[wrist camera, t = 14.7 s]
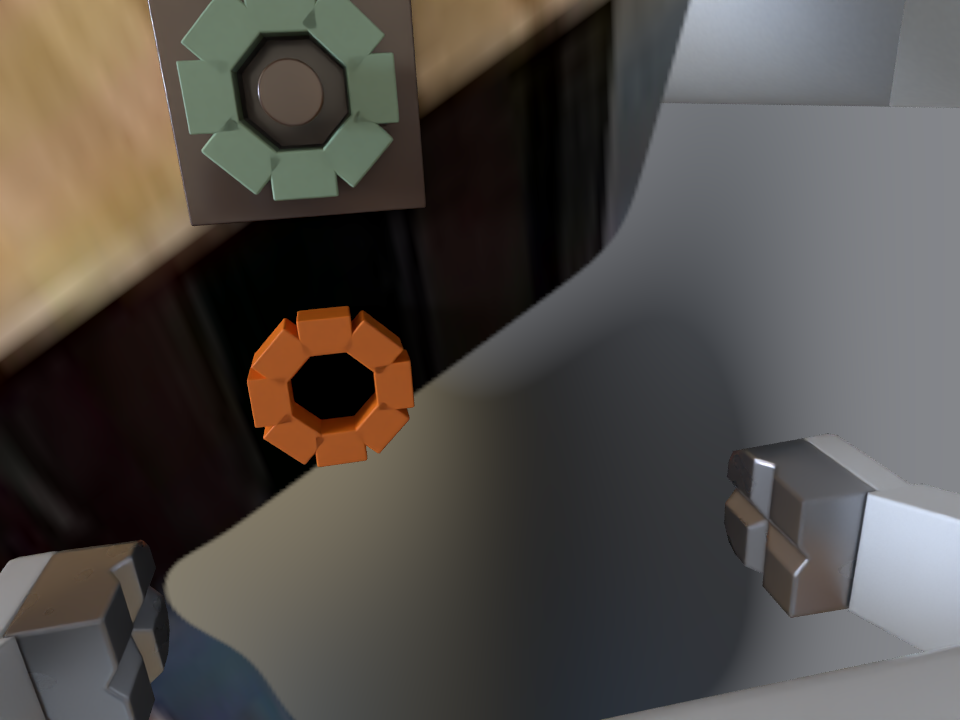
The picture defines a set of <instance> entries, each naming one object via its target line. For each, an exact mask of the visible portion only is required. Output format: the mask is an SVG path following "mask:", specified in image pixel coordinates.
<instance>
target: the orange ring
mask: <svg viewBox="0 0 960 720" xmlns="http://www.w3.org/2000/svg"><path fill="white" fill-rule="evenodd" d="M296 324H297V325H295V324H294V323H292V322H291V321H290V320H288V319H287V318H284V319H283V320H282V322H281V323H280V324H279V325H278V327H277V328H276V329H275V330H274V331H273V333H272V334H271V335H270V336H269V337H268V339H267V340H266V341H265V342H264V343H263V345H262V346H261V347H260V348H259V349H258V351H257V352H256V353H255V354H254V358H253V362H252V366H251V368H250V372H249V376H248V379H247V384H248V389H249V395H250V400H251V406H252V412H253V417H254V423H255V427H256V428H258V427H265V431H264V437H263V438H264V439H265V440H267V441H268V442H270V443H271V444H273V445H274V446H276V447H278V448H279V449H281V450H282V451H284V452H285V453H287V454H289V455H290V456H292V457H293V458H295V459H296V460H298V461H300V462H301V463H303V464H306V463H307V462H308V460H309V459H310V458H311V457H312V456H313V455H314V454H315V453H316V460H317V466H318V467H324V466H330V465H338V464H344V463H352V462H359V461H365V460H367V451H366V446H368V447H369V448H371V449H372V450H374V451H375V452H377V453H380V452H381V451H382V450H383V449H384V448H385V447H386V445H387V444H388V443H389V442H390V441H391V440H392V439H393V437H394V436H395V435H396V434H397V433H398V432H399V431H400V430H401V428H402V427H403V426H404V425H405V424H406V423H407V422H408V420H409V414H408V411H407V408H412V407H414V395H413V383H412V372H411V362H410V359H409V356H408V353H407V350H403V347H402V344H401V341H400V338H399V337H397V336H396V335H395V334H394V333H392V332H391V331H390V330H388V329H387V328H386V327H384V326H383V325H382V324H380V323H379V322H378V321H377V320H375V319H374V318H373V317H371V316H370V315H369V314H367V313H366V312H365V311H363V310H362V311H360V312H359V314H358V315H357V316H356V317H355V318H354V319H353V321H352V322H351V315H350V308H349V306H342V307H332V308H322V309H312V310H303V311H298V313H297V321H296ZM344 352H347V353H348V354H349V355H351V356H352V357H353V358H355V359H356V360H358V361H359V362H360V363H362V364H363V365H364V366H366V367H367V368H369V369H370V370H371V371H373V377H374V386H375V392H374V394H373V395H372V396H371V397H370V398H369V399H368V401H367V402H366V403H365V404H364V405H363V406H362V407H361V409H360V410H359V411H358V412H357V413H356V414H355V416H348V417H340V418H333V419H325V420H321V419H319V418H318V417H316V416H315V415H313V414H312V413H310V412H309V411H307V410H306V409H304V408H303V407H301V406H300V405H298V404H297V403H295V402H294V398H293V391H292V385H291V379H292V377H293V376H294V375H295V374H296V373H297V371H298V370H299V369H300V368H301V367H302V365H303V364H304V363H305V362H306V361H307V360H308V358H309V357H310V356H318V355H327V354H336V353H344Z"/></svg>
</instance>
